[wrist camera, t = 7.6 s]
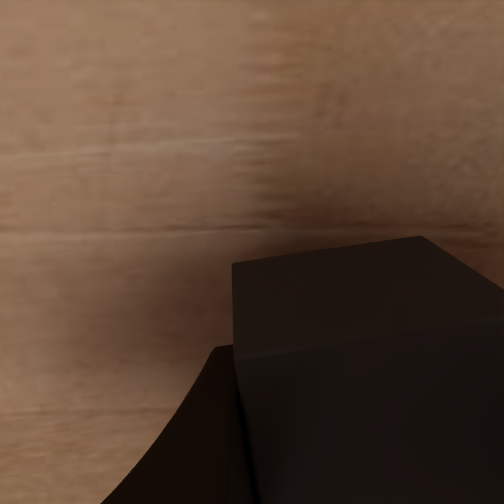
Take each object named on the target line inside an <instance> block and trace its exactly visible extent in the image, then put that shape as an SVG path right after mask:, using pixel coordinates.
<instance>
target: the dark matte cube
mask: <svg viewBox="0 0 504 504" xmlns="http://www.w3.org/2000/svg"><path fill="white" fill-rule="evenodd" d="M232 302H233V348H234V363H235V369H236V375H237V381H238V387H239V392H240V398H241V404H242V410H243V416H244V422H245V427H246V433H247V439H248V445H249V451H250V456H251V462H252V468H253V474H254V480H255V486H256V491H257V497H258V503H259V504H504V289H502V288H501V287H499V286H498V285H496V284H495V283H493V282H491V281H490V280H488V279H487V278H485V277H484V276H482V275H481V274H479V273H478V272H476V271H475V270H473V269H472V268H470V267H469V266H467V265H466V264H464V263H463V262H461V261H460V260H458V259H456V258H455V257H453V256H452V255H450V254H449V253H447V252H446V251H444V250H443V249H441V248H440V247H438V246H437V245H435V244H434V243H432V242H431V241H429V240H428V239H426V238H425V237H423V236H415V237H408V238H401V239H394V240H387V241H380V242H373V243H367V244H360V245H353V246H346V247H339V248H332V249H325V250H319V251H312V252H305V253H298V254H291V255H284V256H277V257H271V258H264V259H257V260H250V261H243V262H236V263H233V264H232Z"/></svg>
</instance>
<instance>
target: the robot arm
mask: <svg viewBox="0 0 504 504" xmlns="http://www.w3.org/2000/svg"><path fill="white" fill-rule="evenodd" d="M101 504H259V503H258V497H257V491H256V486H255V480H254V474H253V468H252V462H251V456H250V451H249V445H248V439H247V433H246V427H245V422H244V416H243V410H242V404H241V398H240V392H239V387H238V381H237V375H236V369H235V363H234V348H233V344H232V345H225V346H218V347H215V348H214V349H213V350H212V352H211V353H210V355H209V357H208V359H207V361H206V363H205V365H204V367H203V368H202V370H201V372H200V374H199V376H198V377H197V379H196V381H195V383H194V384H193V386H192V387H191V389H190V391H189V392H188V394H187V395H186V397H185V399H184V400H183V402H182V403H181V405H180V407H179V408H178V410H177V411H176V413H175V414H174V415H173V417H172V418H171V420H170V421H169V422H168V424H167V425H166V427H165V428H164V429H163V431H162V432H161V433H160V435H159V436H158V438H157V439H156V440H155V442H154V443H153V444H152V446H151V447H150V448H149V450H148V451H147V452H146V453H145V455H144V456H143V457H142V458H141V460H140V461H139V462H138V463H137V464H136V466H135V467H134V468H133V469H132V470H131V471H130V473H129V474H128V475H127V476H126V477H125V478H124V479H123V481H122V482H121V483H120V484H119V485H118V486H117V487H116V488H115V489H114V491H113V492H112V493H111V494H110V495H109V496H108V497H107V498H106V499H105V500H104V501H103V502H102V503H101Z"/></svg>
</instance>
